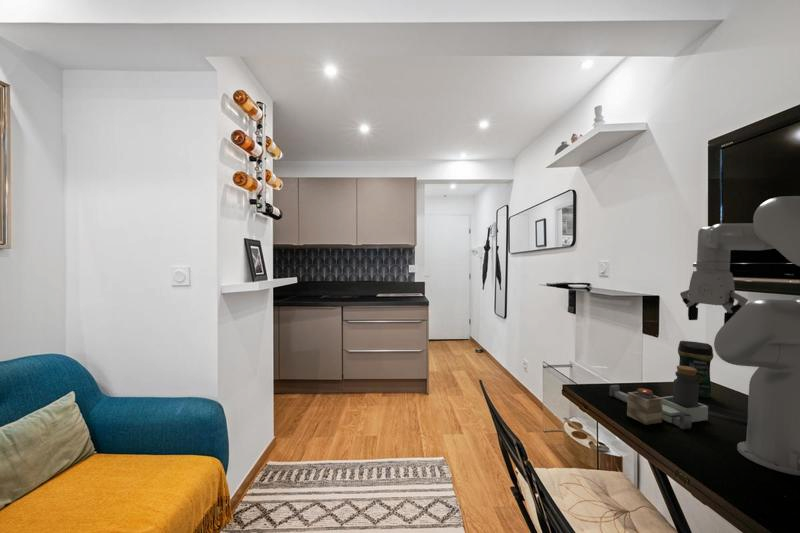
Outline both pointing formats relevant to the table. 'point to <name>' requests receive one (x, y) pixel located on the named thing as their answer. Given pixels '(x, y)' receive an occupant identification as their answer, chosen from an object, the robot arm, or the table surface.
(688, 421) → the rail
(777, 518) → the table surface
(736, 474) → the table surface
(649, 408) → the wooden box
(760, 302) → the robot arm
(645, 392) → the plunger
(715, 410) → the phone
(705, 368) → the coffee jar
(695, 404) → the bottle
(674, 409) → the carriage
